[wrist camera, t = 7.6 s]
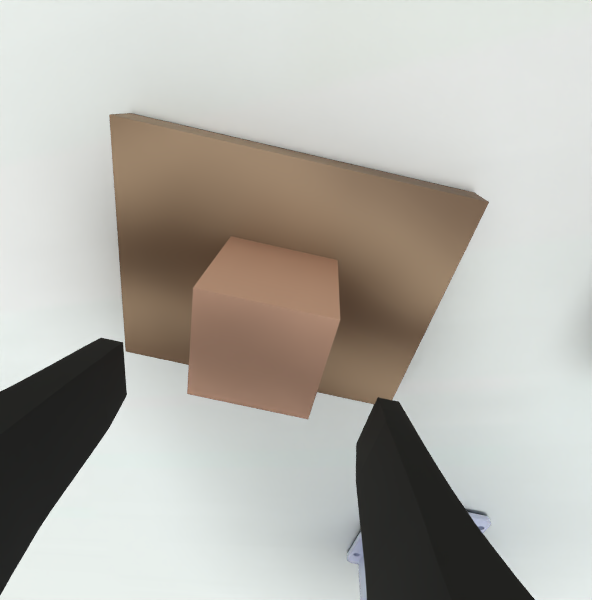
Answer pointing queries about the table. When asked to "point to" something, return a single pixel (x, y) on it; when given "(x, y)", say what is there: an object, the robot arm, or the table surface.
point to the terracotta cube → (263, 327)
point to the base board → (283, 241)
